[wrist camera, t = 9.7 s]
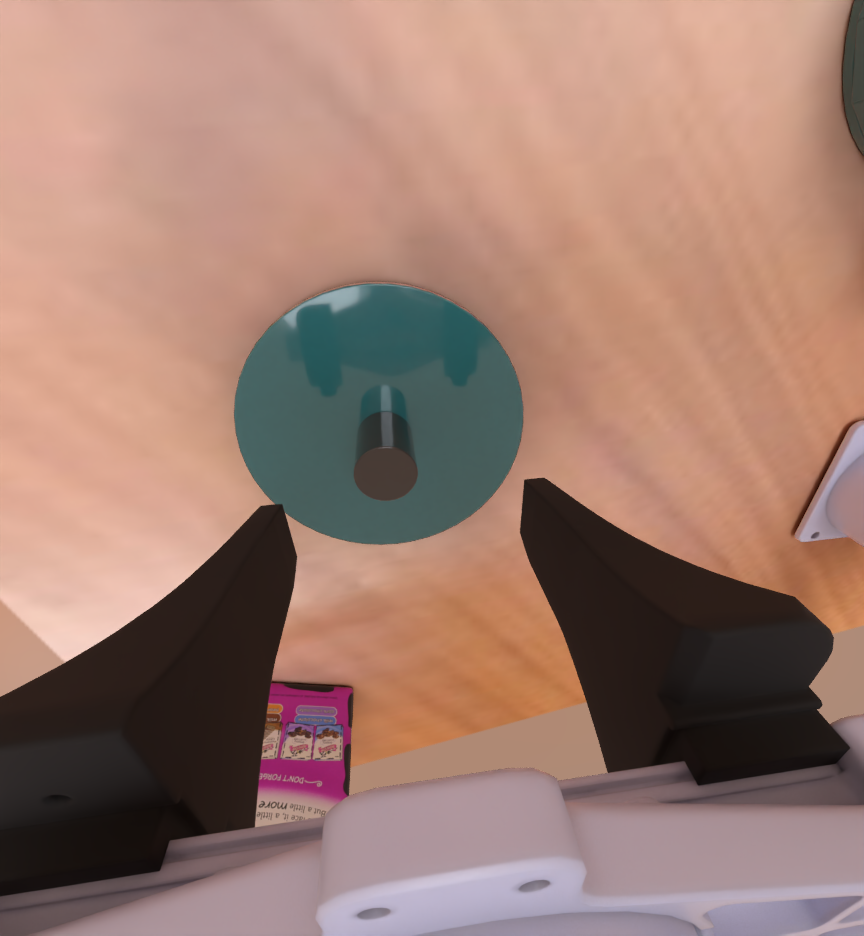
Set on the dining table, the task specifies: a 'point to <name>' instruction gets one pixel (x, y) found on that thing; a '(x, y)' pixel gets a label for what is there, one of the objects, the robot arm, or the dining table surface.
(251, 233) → the dining table surface
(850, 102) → the pot
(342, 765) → the candy bar box
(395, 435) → the lid
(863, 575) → the dining table surface
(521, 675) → the dining table surface
